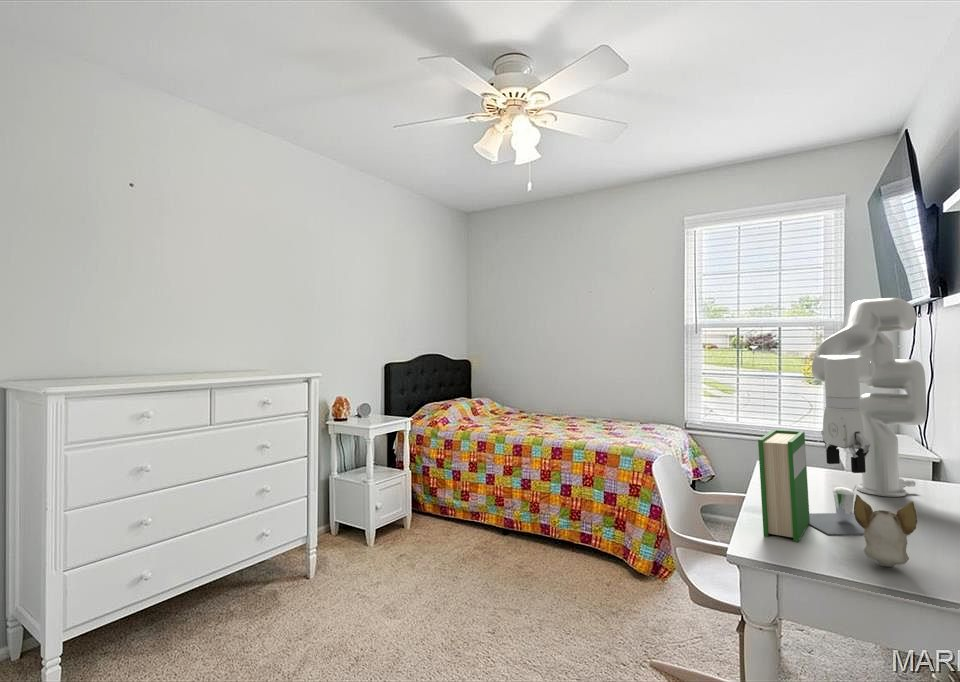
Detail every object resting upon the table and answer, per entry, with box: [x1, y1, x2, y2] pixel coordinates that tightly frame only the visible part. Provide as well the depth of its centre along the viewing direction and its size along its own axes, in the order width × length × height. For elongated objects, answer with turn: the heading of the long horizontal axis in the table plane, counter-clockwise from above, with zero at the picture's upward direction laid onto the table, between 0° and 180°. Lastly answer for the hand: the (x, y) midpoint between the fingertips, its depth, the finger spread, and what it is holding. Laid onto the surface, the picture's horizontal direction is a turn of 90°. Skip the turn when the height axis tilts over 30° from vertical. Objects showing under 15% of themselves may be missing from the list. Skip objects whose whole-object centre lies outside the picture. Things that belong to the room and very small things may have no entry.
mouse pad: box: [808, 512, 911, 536], centre depth 136 cm, size 20×16×1 cm
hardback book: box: [757, 429, 810, 543], centre depth 133 cm, size 18×7×24 cm, turn 140°
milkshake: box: [832, 484, 857, 524], centre depth 136 cm, size 5×5×10 cm
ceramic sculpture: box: [853, 494, 918, 568], centre depth 109 cm, size 11×9×15 cm
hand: (845, 467), depth 137 cm, fingers open, 9 cm apart
